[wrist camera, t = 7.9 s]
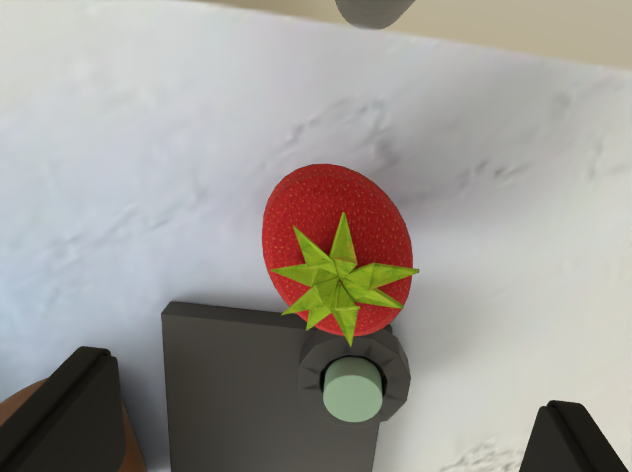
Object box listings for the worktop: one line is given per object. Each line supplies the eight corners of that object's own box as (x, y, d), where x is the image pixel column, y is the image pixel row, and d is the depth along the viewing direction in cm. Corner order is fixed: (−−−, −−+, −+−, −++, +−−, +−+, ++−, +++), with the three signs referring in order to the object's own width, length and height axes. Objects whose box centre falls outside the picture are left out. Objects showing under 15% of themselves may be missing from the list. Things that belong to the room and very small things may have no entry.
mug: (30, 343, 32) (71, 443, 35) (-99, 415, 26) (-35, 529, 29) (144, 381, 26) (180, 497, 29) (12, 486, 20) (76, 618, 23)
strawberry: (365, 120, 22) (372, 162, 12) (420, 251, 24) (463, 373, 14) (258, 169, 23) (192, 242, 14) (320, 289, 25) (300, 423, 16)
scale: (169, 286, 26) (146, 313, 23) (411, 312, 25) (417, 343, 22) (179, 463, 31) (161, 503, 28) (379, 489, 30) (382, 533, 27)
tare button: (327, 352, 23) (325, 371, 22) (384, 359, 23) (386, 378, 22) (323, 397, 24) (320, 418, 23) (377, 404, 24) (378, 425, 23)
